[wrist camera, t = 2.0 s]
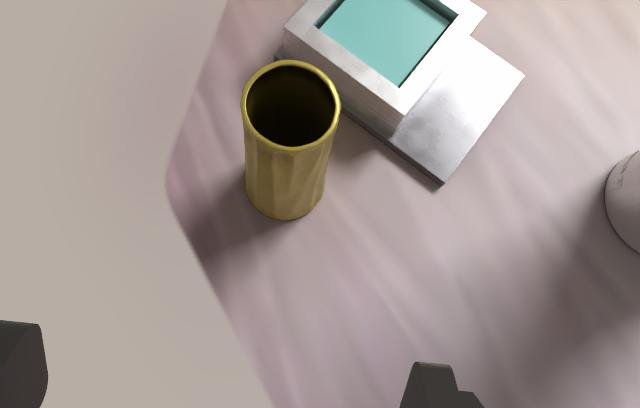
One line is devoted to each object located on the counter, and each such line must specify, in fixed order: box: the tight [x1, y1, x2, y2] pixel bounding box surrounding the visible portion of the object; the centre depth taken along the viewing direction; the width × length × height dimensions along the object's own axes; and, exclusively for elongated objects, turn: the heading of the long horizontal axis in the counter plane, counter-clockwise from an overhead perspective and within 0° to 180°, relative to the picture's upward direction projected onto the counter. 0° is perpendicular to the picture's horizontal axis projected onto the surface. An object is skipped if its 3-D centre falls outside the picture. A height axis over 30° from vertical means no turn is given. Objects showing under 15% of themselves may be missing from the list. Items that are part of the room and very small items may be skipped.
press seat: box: [319, 0, 450, 88], centre depth 41 cm, size 7×7×1 cm
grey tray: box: [274, 0, 524, 186], centre depth 42 cm, size 17×12×5 cm
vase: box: [240, 60, 341, 220], centre depth 34 cm, size 6×6×14 cm
